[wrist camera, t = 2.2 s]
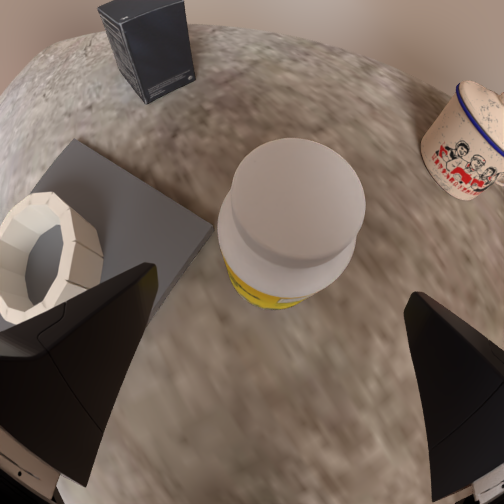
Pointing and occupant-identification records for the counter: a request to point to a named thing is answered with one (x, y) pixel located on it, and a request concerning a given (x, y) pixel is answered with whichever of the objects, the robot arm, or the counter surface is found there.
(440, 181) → the teacup with lid
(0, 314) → the socket board
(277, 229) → the pill bottle
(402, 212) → the counter surface
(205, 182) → the counter surface
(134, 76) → the small box
